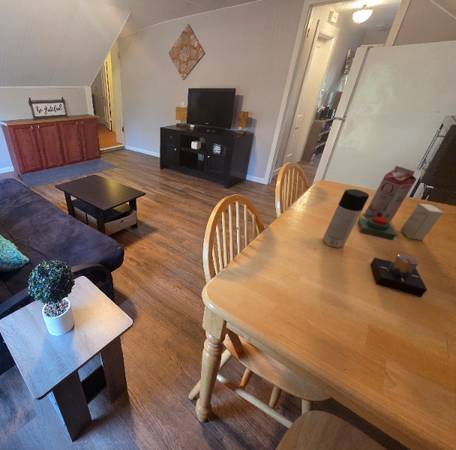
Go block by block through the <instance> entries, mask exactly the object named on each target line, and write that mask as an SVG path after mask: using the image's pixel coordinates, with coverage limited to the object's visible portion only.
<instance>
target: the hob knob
mask: <svg viewBox="0 0 456 450" xmlns="http://www.w3.org/2000/svg"><path fill="white" fill-rule="evenodd" d="M392 262H393V264H392V265H391V267H390V268H389V269H390V271H391V272H392V273H394V274H396V275H398V276H401V277H408V276H409V275H410V274H411V273H412V271H413V270H414V269H415V268H417V266H418V265H419V264H420V263H419V262H420V261H419V260H418V259H417V258H416V257H414V256H412V255H410V254H407V253H406V254H405V253H400V254H398V255H397V256H396V258H395V259H394V261H392Z"/></svg>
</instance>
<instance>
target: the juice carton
mask: <svg viewBox="0 0 456 450" xmlns="http://www.w3.org/2000/svg"><path fill="white" fill-rule="evenodd" d="M415 172H416V171H415V170H411V169H408V168H405V167H402V166H398V165H395V167H394V169H392V170H391V171H389V172H387V173H385V174H384V176H383V177H382V180H381V182H380V184H379V186H378V188H377V189H376V192H375V193H374V195H373V197H372V200H370V202H369V205H368V207H367V208H366V209H365V212H364V214H363V216H364V217H367V218H368V219H369V218H375V217H382V218H385V219H386V220H387V222H388V223H390V222H392V220H393V219H394V218H395V215H397V212H398V210H399V209H400V207H401V205H402V204H403V202H404V201H405V199H406V198H407V196H408V195H409V192H410V191H411V189H412V188H413V186H414V185H415V182H416V181H417V178H416V177H415V176H414V174H415Z"/></svg>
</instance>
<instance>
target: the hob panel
mask: <svg viewBox="0 0 456 450" xmlns="http://www.w3.org/2000/svg"><path fill="white" fill-rule="evenodd" d="M393 262H394V261H391V260H386V259H383V258H379V257H373V259H372V260H371V262H370V264H369V265H370V268H371V272H372V275H373V279H374V282H375V285H378V286H381V287H385V288H388V289H392V290H395V291H399V292H402V293H405V294H408V295H411V296H416V297H418V298H422V296H423V295H424V294H425V293H426V292H427V290H428V289H427V286H426V285H425V283H424V281H423V279H422V277H421V275H420V273H419V272H418V270H417V267H415V269H414V270H413V271H412V273H411V274H410V275H409V276H408V277H401V276H398V275H396V274H394V273H392V272H391V271H390V269H389V268H390V267H391V265H392V264H393Z"/></svg>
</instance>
